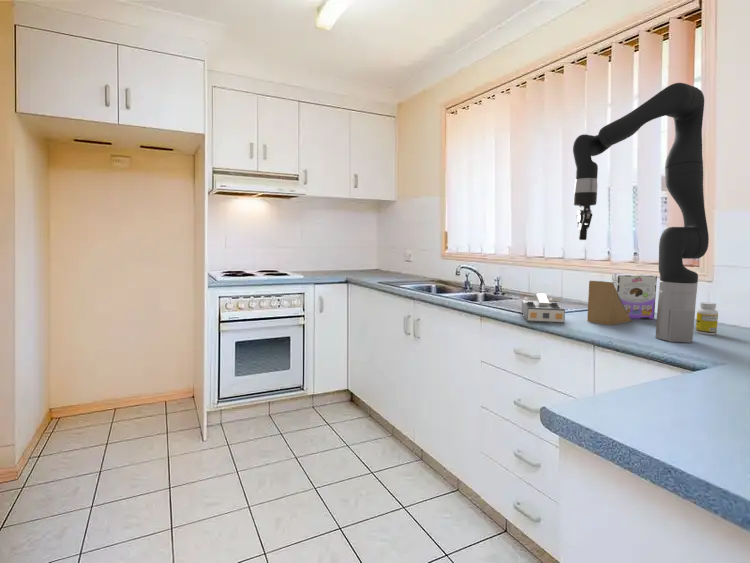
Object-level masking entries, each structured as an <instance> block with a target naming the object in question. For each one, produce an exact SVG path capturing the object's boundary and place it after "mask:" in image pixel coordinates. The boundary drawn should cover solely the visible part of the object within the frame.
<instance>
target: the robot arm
mask: <svg viewBox="0 0 750 563" xmlns="http://www.w3.org/2000/svg"><path fill="white" fill-rule="evenodd" d="M704 112H705V95H704V93H703V92H702V90H701V89H699V88H698V87H696V86H693V85H690V84H688V83H684V82H675V83H672V84H670V85H668V86H666V87H665V88H663V89H661V91H659V92H657V93H656V94H655V95H653V96H652V97H651V98H650V99H648V100H646V101H645V102H643V103H641V105H639V106H638V107H636V108H635V109H633V110H632V111H630V112H629V113H627V114H625V115H624V116H621V117H620V118H618V119H616V120H614V121H612V122H610V123H607V124H606V125H604V126H603V127H601V128H600V130H598V134H597V135H592V134H591V135H590V134H580V135H578V136H577V137H576V139H575V140H574V142H573V145H572V153H573V159H574V163H575V169H576V171H575V183H574V189H573V192H574V193H573V205H574V206H579V208H578V210H577V211H576V212H577V215H576V222H577V228H578V231H579V232H578V233H579V236H578V239H579V241H586V240H587V239H588V238H587V237H588V236H587V234H588V230H589V228H590V224H591V222H592V217H593V213H592V210H591V206H596V205H597V198H598V174H599V173H598V170H599V168H598V164H597V162H595V161H593V159H592V157H595V156H599V155H601V154H603V153H604V152H605V151H606V150H608V149H610V147H612V146H613V145H615V144H618V143H620V142H622V141H625V140H626V139H628V138H630V137H632V136H633V135H635V134H636V133H637V132H638V131H639V130H640V129H641V128H642V127H643V126H644V125H645V124H647V123H649V122H651V121H653V120H656V119H658V118H661V117H670V118H672V119H673V121H674V140H673V144H672V146H671V148H670V150H669V152H668V153H667V156H666V158H665V164H664V182H665V187H666V190H667V191H668V193H669V195H670V196H671V197H672V199H673V200H674V202H675V203H676V204H677V206H678V208H679V209H680V212H681V214H682V217H683V218H682V219H683V226H670V227H667V228H665V229H664V230H663V231H662V233H661V234H660V238H659V244H658V272H659V287H658V300H657V312H656V324H655V338H656V339H659V340H662V341H666V342H671V343H672V342H674V343H688V344H690V343H691V344H692V343H693V340H694V339H693V338H694V328H695V316H696V306H697V305H696V304H697V302H696V301H697V296H698V295H697V294H698V284H699V283H698V282H699V274H698V273H697V272H696V271H694V270H690V269H688V268H687V267H686V266H684V263H683V262H684V261H683V260H686V259H687V260H688V259H689V260H690V259H692V260H694V259H695V260H696V259H701V258H702V257H704V256H705V254H706V253H707V251H708V248H709V243H710V242H709V241H710V240H709V239H710V237H709V230H708V223H707V217H706V215H707V214H706V210H705V209H706V208H705V197H704V160H703V121H704Z"/></svg>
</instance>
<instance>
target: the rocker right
mask: <svg viewBox="0 0 750 563" xmlns="http://www.w3.org/2000/svg"><path fill="white" fill-rule="evenodd" d="M547 299H548V301H549V302H556V303H561V302H562V300H563V298H562V297H549V298H548V297H547Z"/></svg>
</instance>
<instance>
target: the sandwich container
mask: <svg viewBox="0 0 750 563" xmlns="http://www.w3.org/2000/svg"><path fill="white" fill-rule="evenodd" d="M587 298H588V299H587V300H588V303H587V320H586V321H587V322H588V321H590V322H591V323H594V322H595V324H601V325H605V326H606V325H607V326H612V325H613V326H614V325H619V324H624V323H628V322H632V319H631V318H630V317H629V315H628V313H627V311H626V309H625V307H624V305H623V303H622V301H621V299H620V297H619V295H618V293H617V291H616V288H615V286H614V283H613V282H612V281H610V282H609V281H603V280H589V281H588V297H587ZM590 322H589V323H590Z"/></svg>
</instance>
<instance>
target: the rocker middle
mask: <svg viewBox="0 0 750 563" xmlns="http://www.w3.org/2000/svg"><path fill="white" fill-rule="evenodd" d="M535 298H537V301H538V303H539V306H549V301H548V297H547V294H546V293H536V296H535Z"/></svg>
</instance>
